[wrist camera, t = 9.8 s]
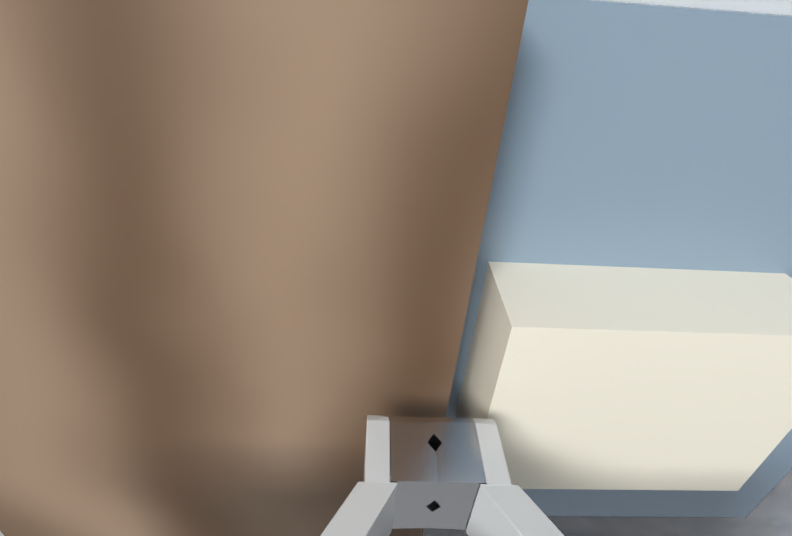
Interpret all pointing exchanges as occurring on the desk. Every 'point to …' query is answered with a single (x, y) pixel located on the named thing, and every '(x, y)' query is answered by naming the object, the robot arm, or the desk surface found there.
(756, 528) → the desk surface
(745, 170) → the mat
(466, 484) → the robot arm
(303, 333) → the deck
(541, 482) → the tile
